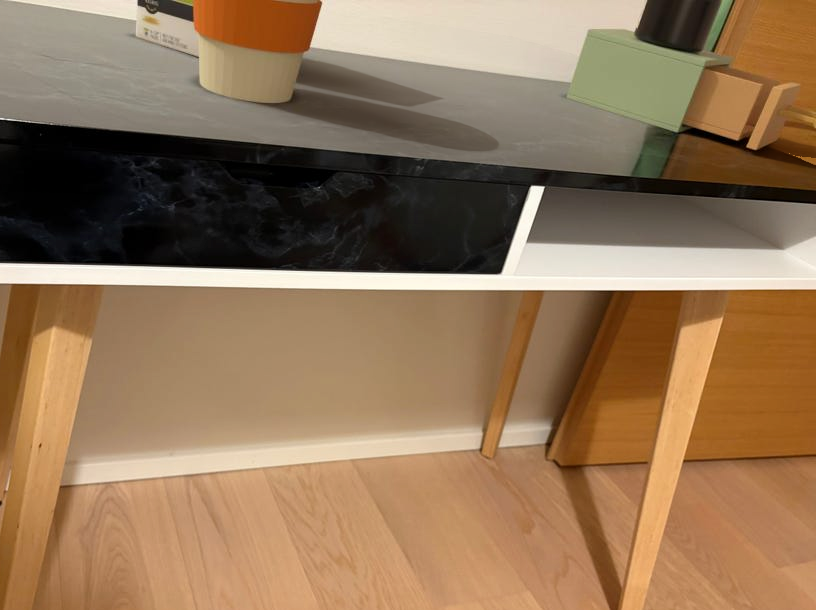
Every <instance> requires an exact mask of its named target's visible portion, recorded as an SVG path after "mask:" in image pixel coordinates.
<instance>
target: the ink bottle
mask: <svg viewBox="0 0 816 610" xmlns="http://www.w3.org/2000/svg"><path fill="white" fill-rule="evenodd" d="M722 2H723V0H645V1H644V3H643V6H642V9H641V11H640V14H639V18H638V21H637V23H636V26H635V29H634V31H633V32H634V36H635V37H637V38H639V39H641V40H644V41H647V42H650V43H653V44H656V45H660V46H664V47H668V48H672V49H677V50H683V51H690V52H701V51H702V50H705V49H704V48H705V46H706V44H707V41H708V39H709V36H710V33H711V31H712V29H713V26H714V24H715V21H716V19H717V16H718V13H719V11H720V8H721V5H722Z"/></svg>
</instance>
